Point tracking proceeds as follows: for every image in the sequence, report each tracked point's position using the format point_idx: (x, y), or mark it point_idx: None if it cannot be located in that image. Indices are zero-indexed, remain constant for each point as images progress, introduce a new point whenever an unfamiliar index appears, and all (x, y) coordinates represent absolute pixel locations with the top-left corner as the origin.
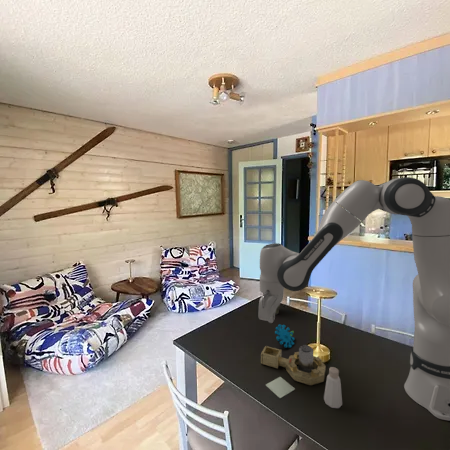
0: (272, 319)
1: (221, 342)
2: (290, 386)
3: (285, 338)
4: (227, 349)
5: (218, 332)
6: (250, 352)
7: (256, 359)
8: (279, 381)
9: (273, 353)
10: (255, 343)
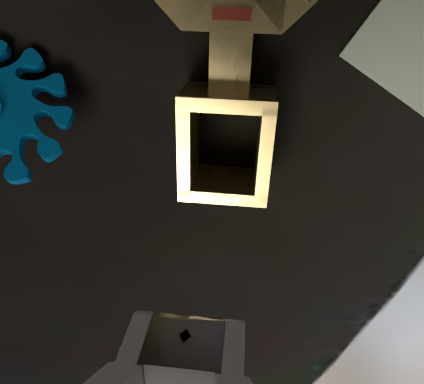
0: (242, 364)
1: None
2: None
3: (8, 101)
4: None
5: None
6: (193, 241)
7: None
8: (383, 49)
9: (193, 138)
10: (112, 238)
